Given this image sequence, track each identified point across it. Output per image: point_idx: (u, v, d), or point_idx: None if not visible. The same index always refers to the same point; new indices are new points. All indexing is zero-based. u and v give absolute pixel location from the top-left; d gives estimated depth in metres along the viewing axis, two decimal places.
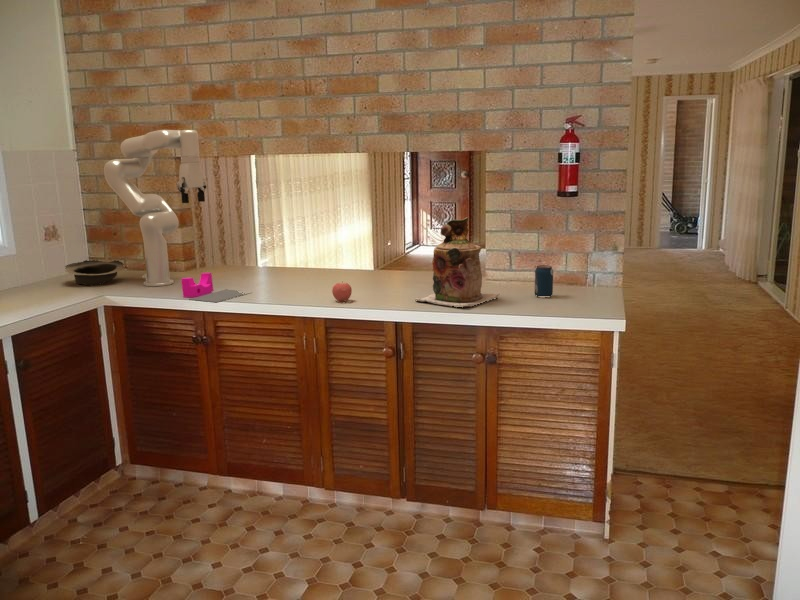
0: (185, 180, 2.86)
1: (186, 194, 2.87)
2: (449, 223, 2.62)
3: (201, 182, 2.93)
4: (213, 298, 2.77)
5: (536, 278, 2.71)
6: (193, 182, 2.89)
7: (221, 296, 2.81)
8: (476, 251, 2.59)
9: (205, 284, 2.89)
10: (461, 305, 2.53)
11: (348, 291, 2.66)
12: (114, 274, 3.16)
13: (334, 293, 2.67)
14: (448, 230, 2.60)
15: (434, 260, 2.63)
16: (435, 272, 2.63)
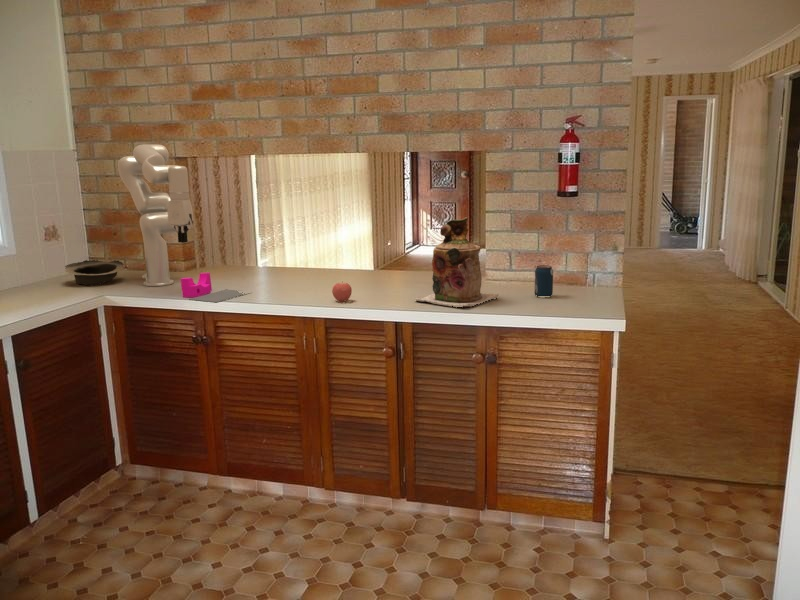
0: (192, 216, 2.83)
1: None
2: (449, 223, 2.62)
3: None
4: (213, 298, 2.77)
5: (536, 278, 2.71)
6: None
7: (221, 296, 2.81)
8: (476, 251, 2.59)
9: (204, 284, 2.89)
10: (461, 305, 2.53)
11: (348, 291, 2.66)
12: (114, 274, 3.16)
13: (334, 293, 2.67)
14: (448, 230, 2.60)
15: (434, 260, 2.63)
16: (435, 272, 2.63)
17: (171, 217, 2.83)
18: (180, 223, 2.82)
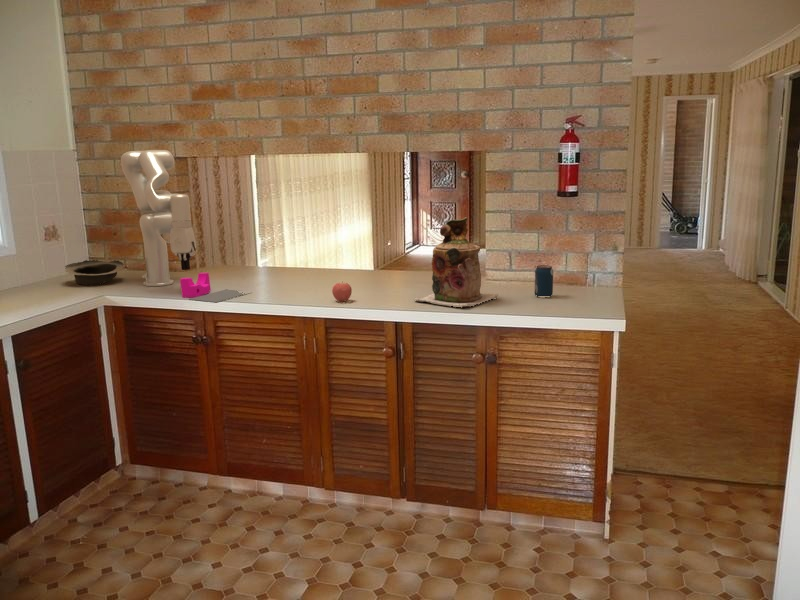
0: (194, 244, 2.85)
1: (188, 260, 2.89)
2: (448, 223, 2.62)
3: None
4: (213, 298, 2.77)
5: (536, 278, 2.71)
6: None
7: (221, 296, 2.81)
8: (475, 251, 2.59)
9: (203, 284, 2.89)
10: (460, 305, 2.53)
11: (348, 291, 2.66)
12: (114, 274, 3.16)
13: (334, 293, 2.67)
14: (447, 230, 2.60)
15: (433, 260, 2.63)
16: (434, 272, 2.63)
17: (174, 245, 2.85)
18: (183, 251, 2.84)
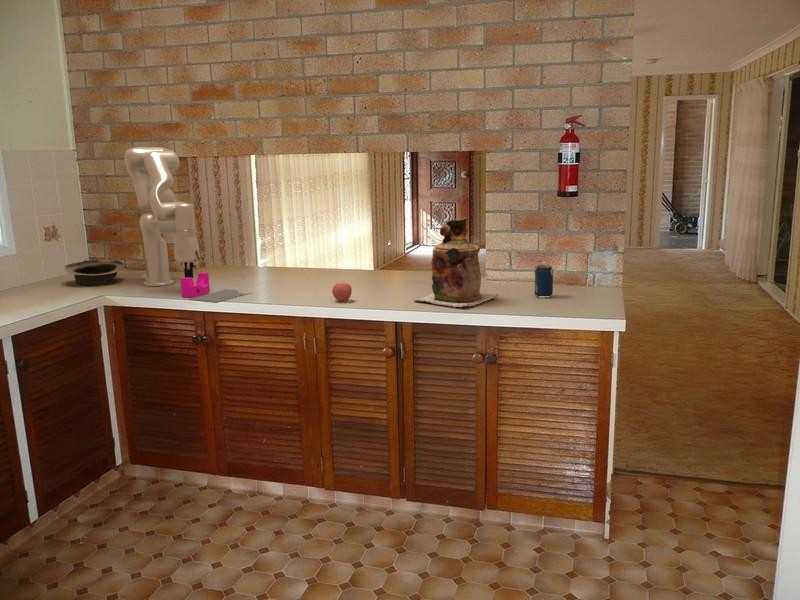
0: (198, 253, 2.86)
1: None
2: (448, 223, 2.62)
3: None
4: (213, 298, 2.77)
5: (536, 278, 2.71)
6: None
7: (221, 296, 2.81)
8: (475, 251, 2.59)
9: (203, 284, 2.89)
10: (460, 305, 2.53)
11: (348, 291, 2.66)
12: (114, 274, 3.16)
13: (334, 293, 2.67)
14: (447, 230, 2.60)
15: (433, 260, 2.63)
16: (434, 272, 2.63)
17: (177, 254, 2.86)
18: (186, 260, 2.84)
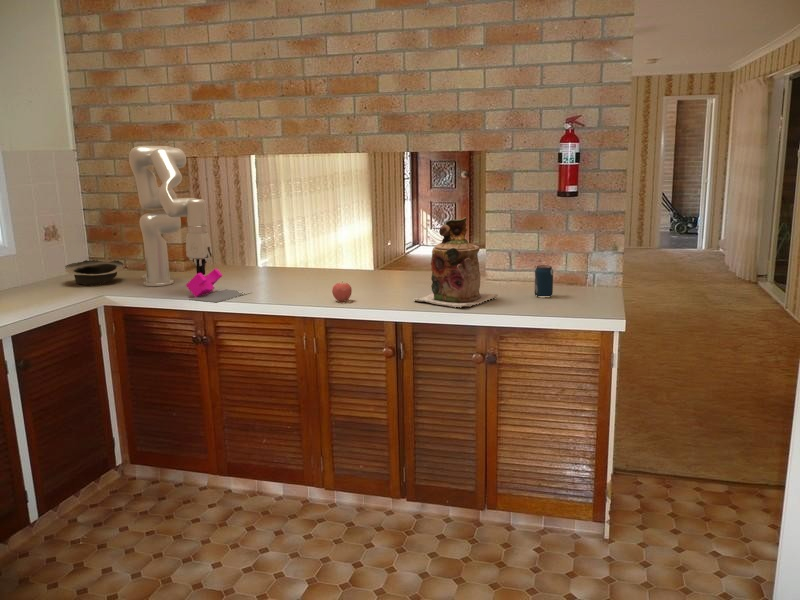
0: (210, 249, 2.82)
1: None
2: (447, 223, 2.62)
3: None
4: (213, 298, 2.77)
5: (536, 278, 2.71)
6: None
7: (221, 296, 2.81)
8: (474, 251, 2.59)
9: (210, 283, 2.88)
10: (460, 305, 2.53)
11: (348, 291, 2.66)
12: (114, 274, 3.16)
13: (334, 293, 2.67)
14: (446, 230, 2.60)
15: (432, 260, 2.63)
16: (433, 272, 2.63)
17: (189, 250, 2.82)
18: (198, 256, 2.81)
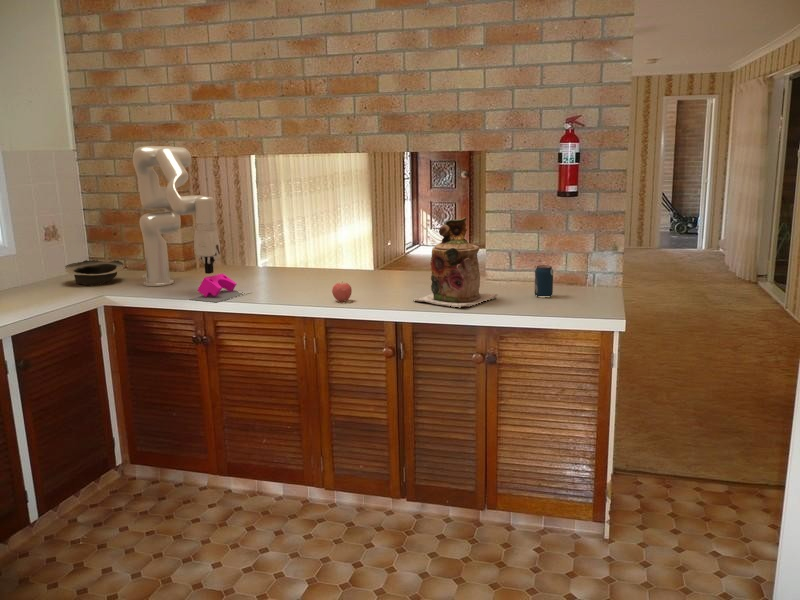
0: (219, 247, 2.80)
1: None
2: (447, 223, 2.62)
3: None
4: (213, 298, 2.77)
5: (536, 278, 2.71)
6: None
7: (221, 296, 2.81)
8: (474, 251, 2.59)
9: None
10: (459, 305, 2.53)
11: (348, 291, 2.66)
12: (114, 274, 3.16)
13: (334, 293, 2.67)
14: (446, 230, 2.60)
15: (432, 260, 2.63)
16: (433, 272, 2.63)
17: (198, 248, 2.80)
18: (207, 254, 2.78)
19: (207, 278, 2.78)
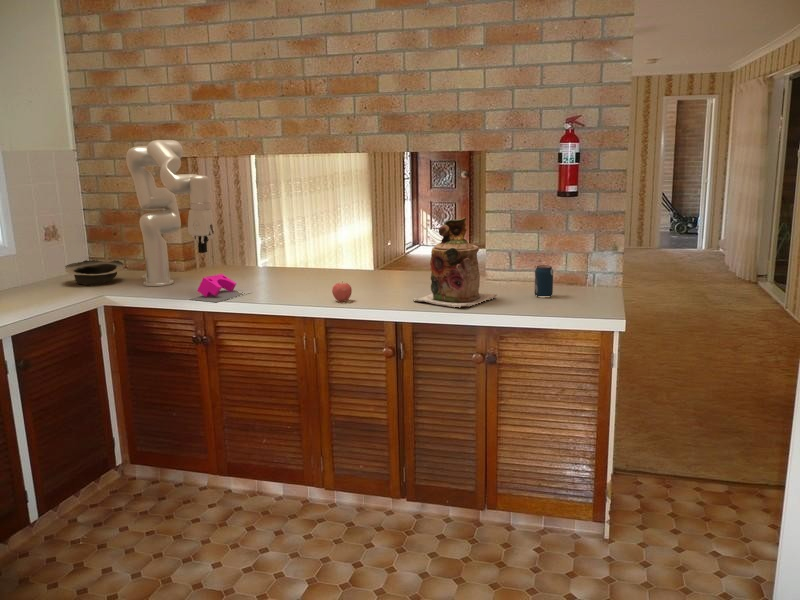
0: (213, 227, 2.80)
1: None
2: (447, 223, 2.62)
3: None
4: (213, 298, 2.77)
5: (536, 278, 2.71)
6: None
7: (221, 296, 2.81)
8: (474, 251, 2.59)
9: None
10: (459, 305, 2.53)
11: (348, 291, 2.66)
12: (114, 274, 3.16)
13: (334, 293, 2.67)
14: (446, 230, 2.60)
15: (432, 260, 2.63)
16: (433, 272, 2.63)
17: (191, 227, 2.80)
18: (201, 234, 2.78)
19: (206, 278, 2.79)
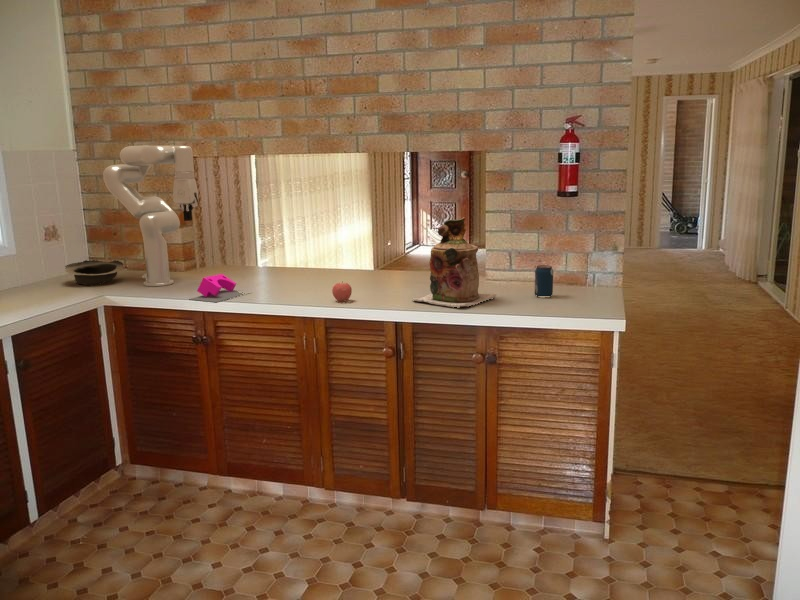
0: (197, 195, 2.90)
1: None
2: (446, 223, 2.62)
3: None
4: (213, 298, 2.77)
5: (536, 278, 2.71)
6: None
7: (221, 296, 2.81)
8: (473, 251, 2.59)
9: None
10: (458, 305, 2.53)
11: (348, 291, 2.66)
12: (114, 274, 3.16)
13: (334, 293, 2.67)
14: (445, 230, 2.60)
15: (431, 260, 2.63)
16: (432, 272, 2.63)
17: (176, 196, 2.90)
18: (185, 202, 2.89)
19: (206, 278, 2.79)
